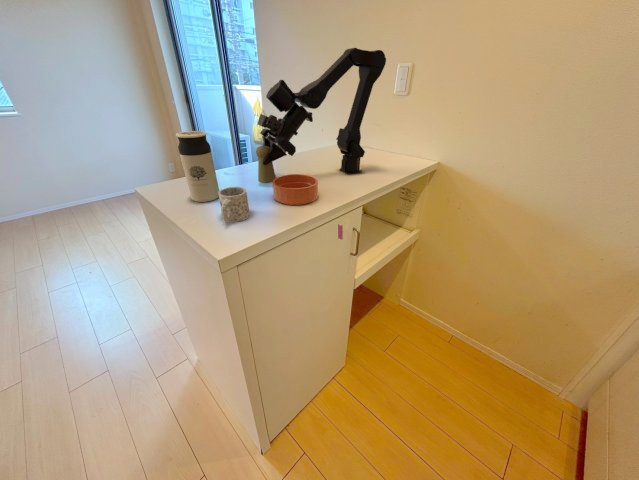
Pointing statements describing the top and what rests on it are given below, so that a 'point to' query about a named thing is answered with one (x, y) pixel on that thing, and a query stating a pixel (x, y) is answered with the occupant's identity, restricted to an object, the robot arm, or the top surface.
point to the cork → (264, 166)
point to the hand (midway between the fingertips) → (261, 162)
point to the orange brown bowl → (295, 189)
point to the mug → (234, 204)
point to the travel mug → (198, 165)
